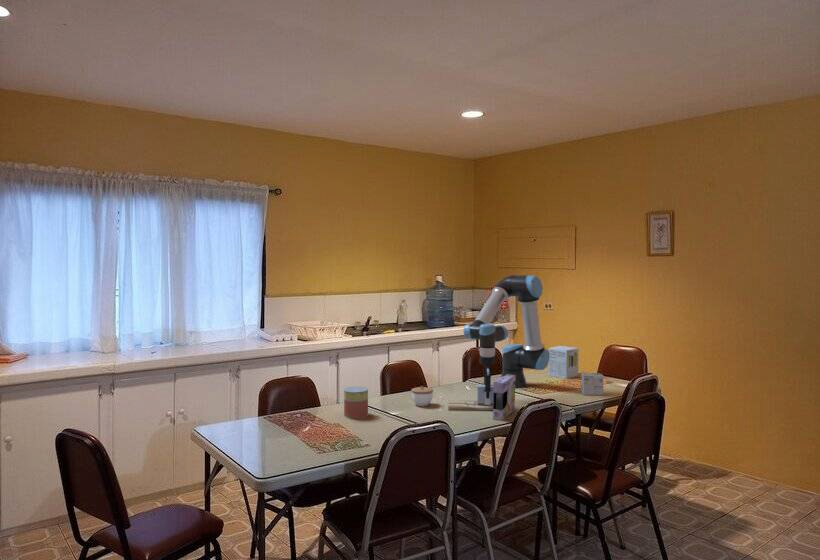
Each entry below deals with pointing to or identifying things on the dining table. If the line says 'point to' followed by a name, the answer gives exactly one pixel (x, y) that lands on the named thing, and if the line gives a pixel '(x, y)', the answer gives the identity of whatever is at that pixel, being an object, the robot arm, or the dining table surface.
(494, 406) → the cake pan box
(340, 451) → the dining table surface
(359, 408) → the canned food
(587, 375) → the light bulb box
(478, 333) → the robot arm
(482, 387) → the block
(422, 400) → the lidded jar
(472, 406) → the board
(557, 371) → the supplement box
